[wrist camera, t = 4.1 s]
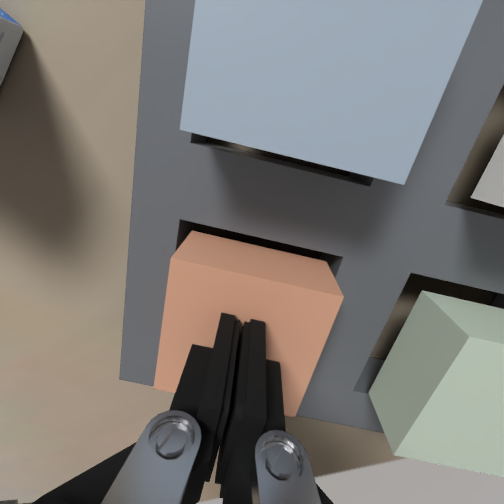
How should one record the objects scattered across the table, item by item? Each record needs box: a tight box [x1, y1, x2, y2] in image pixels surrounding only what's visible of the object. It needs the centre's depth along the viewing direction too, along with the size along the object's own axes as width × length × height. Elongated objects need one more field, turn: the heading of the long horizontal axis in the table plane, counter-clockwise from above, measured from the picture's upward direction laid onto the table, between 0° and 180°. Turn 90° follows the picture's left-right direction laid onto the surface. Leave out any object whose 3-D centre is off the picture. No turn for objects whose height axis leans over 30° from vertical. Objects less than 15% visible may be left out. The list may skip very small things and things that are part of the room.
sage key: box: [369, 290, 504, 477], centre depth 12 cm, size 6×6×3 cm
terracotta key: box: [153, 231, 344, 417], centre depth 12 cm, size 6×6×3 cm
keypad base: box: [119, 0, 504, 433], centre depth 13 cm, size 21×22×3 cm
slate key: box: [180, 0, 483, 185], centre depth 8 cm, size 6×6×3 cm
